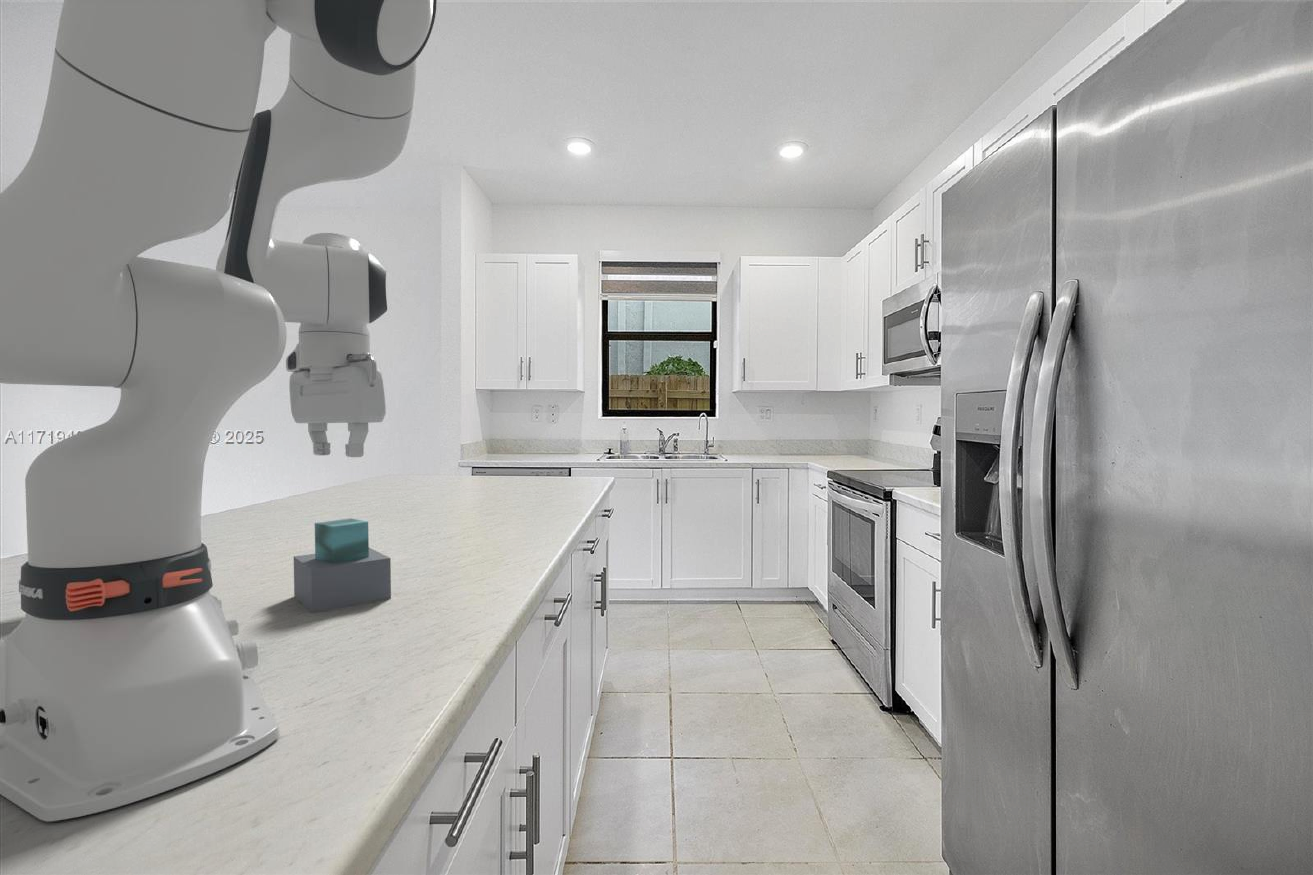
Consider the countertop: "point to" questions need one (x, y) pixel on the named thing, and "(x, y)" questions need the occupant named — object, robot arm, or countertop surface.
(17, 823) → the countertop surface
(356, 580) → the charcoal block
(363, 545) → the teal block
